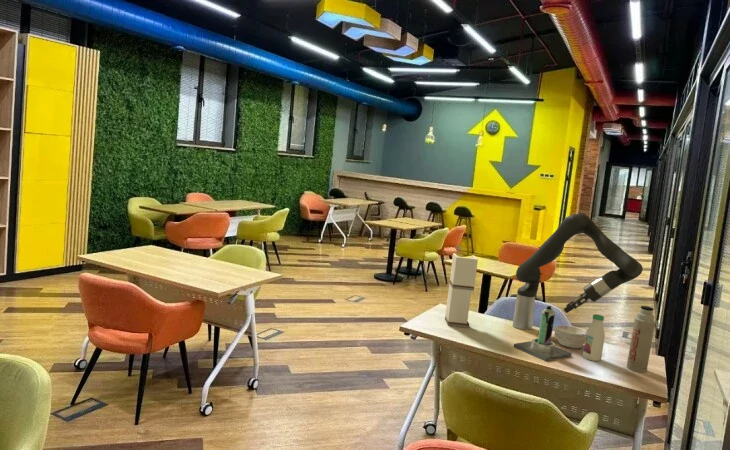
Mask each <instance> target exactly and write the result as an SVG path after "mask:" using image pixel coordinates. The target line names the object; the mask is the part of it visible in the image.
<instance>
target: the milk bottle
mask: <svg viewBox="0 0 730 450" xmlns="http://www.w3.org/2000/svg"><path fill="white" fill-rule="evenodd" d="M604 319H605V316H604V315H600V314H598V313H597V314H592V321H591V324H590V325H589V327H588V328H587V330H586V331H587V334H586V339H585V344H583V345H584V346H583V352H582V357H583V358H584V359H586V360H588V361H594V362H600V361H602V356H603V350H604V344H605V337H606V334H605V328H604V325H603V323H604Z"/></svg>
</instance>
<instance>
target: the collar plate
mask: <svg viewBox="0 0 730 450" xmlns="http://www.w3.org/2000/svg"><path fill="white" fill-rule="evenodd" d="M513 348H514V349H517V350H520V351H522V352H524V353H526V354H529V355H531V356H533V357H535V358H538V359H540V360H542V361H544V362H548V361H549V362H550V361H553V360H560V359H564V358H569V357H572V356H573V355H572V354H573V353H572V352H570V351H567V350H565V349H562V348H561V347H560V348H559V347H557V346H556V343H555V342H554V341H552V340H551V342H550V345H543V344H539V343H538V338H537V337H535V338H532V339H531V341H524V342H517V343H514V344H513Z"/></svg>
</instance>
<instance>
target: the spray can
mask: <svg viewBox="0 0 730 450" xmlns="http://www.w3.org/2000/svg"><path fill="white" fill-rule="evenodd" d="M555 313H556V312H555V311H554V310H553V308H552V305H547V307H546V308H544V309H542V311H541V319H540V325H539V329H538V330H539V331H538V336H537V337H538V343H539V344H543V345H550V342H551V341H552V335H553V328H554V322H555V316H556V315H555Z"/></svg>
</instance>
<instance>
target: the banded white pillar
mask: <svg viewBox="0 0 730 450" xmlns="http://www.w3.org/2000/svg"><path fill="white" fill-rule="evenodd" d="M478 260H479V259H478V258H477V257H476V256H475V255H474V254H473V255H471V257H470V258H469V257H464V256H463V257H462V256H459V255H457V254H456V253H455V252H454V253H452V261H451V267H450V276H449V285H448V292H447V298H446V299H447V300H446V308H445V315H444V321H445V323H446V325H447V326H448V327H449V326H450V327H456V328H457V327H458V328H466V329H467V328H468V329H470V323H469V321H468V320H469V311H470V306H471V305H470V303H471V296H472V294H474V292H475V286H476V285H475V284H476V277H477V269H478Z"/></svg>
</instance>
